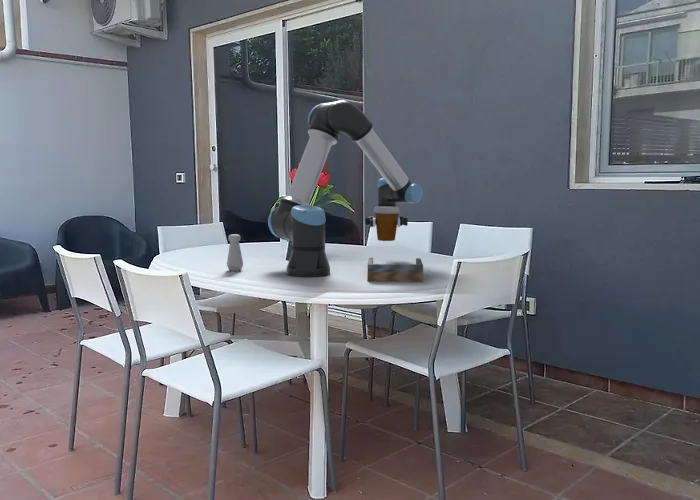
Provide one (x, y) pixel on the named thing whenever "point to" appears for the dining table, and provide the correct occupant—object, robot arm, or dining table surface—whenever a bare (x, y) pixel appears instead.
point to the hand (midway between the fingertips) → (386, 223)
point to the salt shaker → (234, 253)
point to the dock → (395, 272)
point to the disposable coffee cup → (386, 222)
